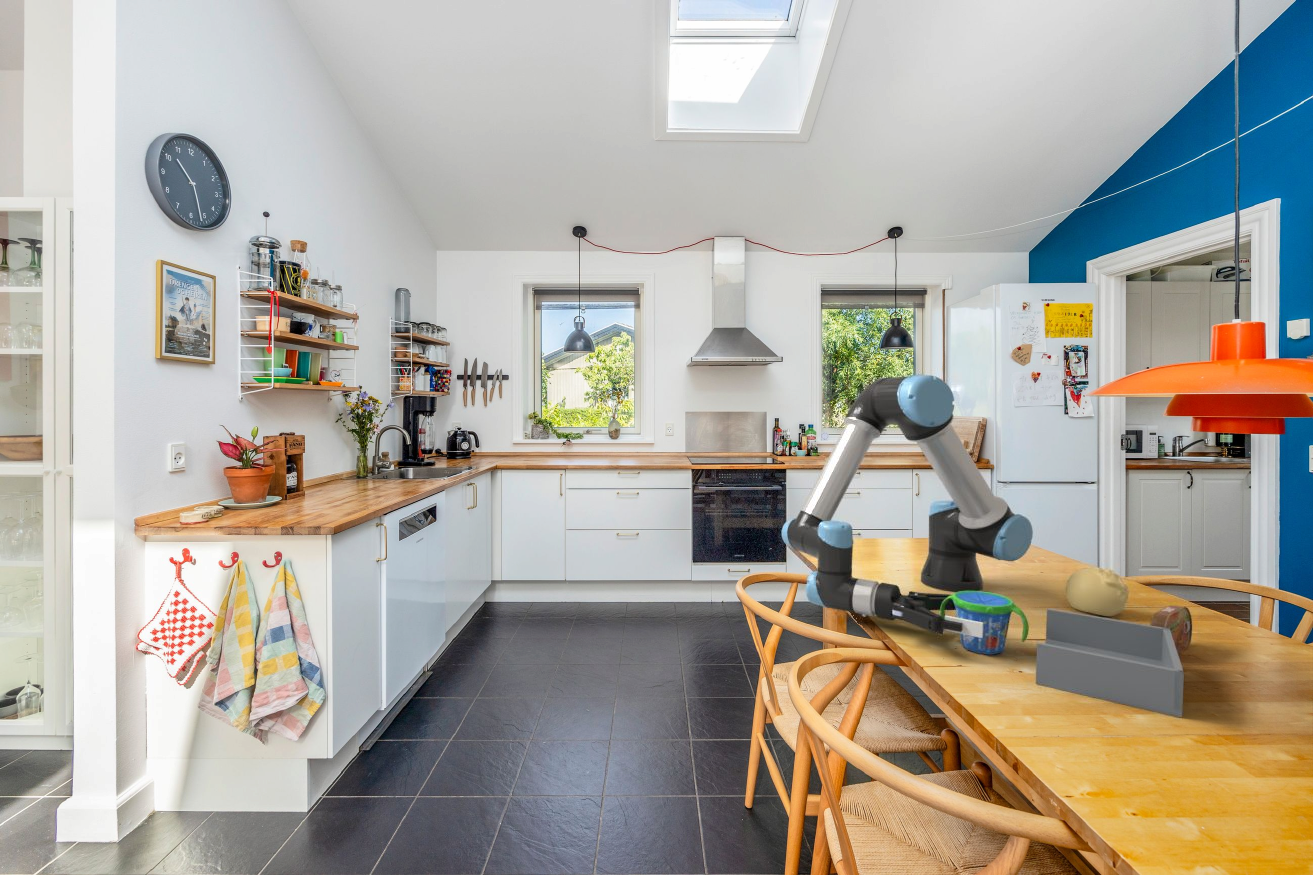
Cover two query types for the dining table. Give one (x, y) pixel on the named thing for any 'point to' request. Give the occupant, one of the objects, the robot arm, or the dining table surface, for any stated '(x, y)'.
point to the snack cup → (985, 619)
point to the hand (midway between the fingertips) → (988, 620)
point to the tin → (1175, 625)
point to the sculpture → (1097, 591)
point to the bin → (1111, 661)
